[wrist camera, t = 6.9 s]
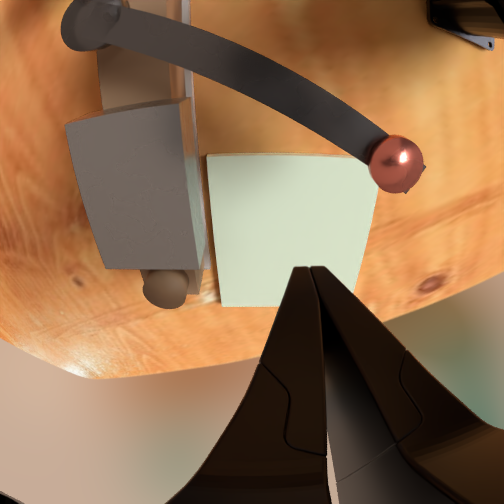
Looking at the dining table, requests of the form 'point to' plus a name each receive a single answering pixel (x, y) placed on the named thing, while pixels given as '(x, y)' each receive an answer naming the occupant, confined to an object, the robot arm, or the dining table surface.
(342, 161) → the mat
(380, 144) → the lever
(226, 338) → the dining table surface
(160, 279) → the body
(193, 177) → the flat grey slab block
